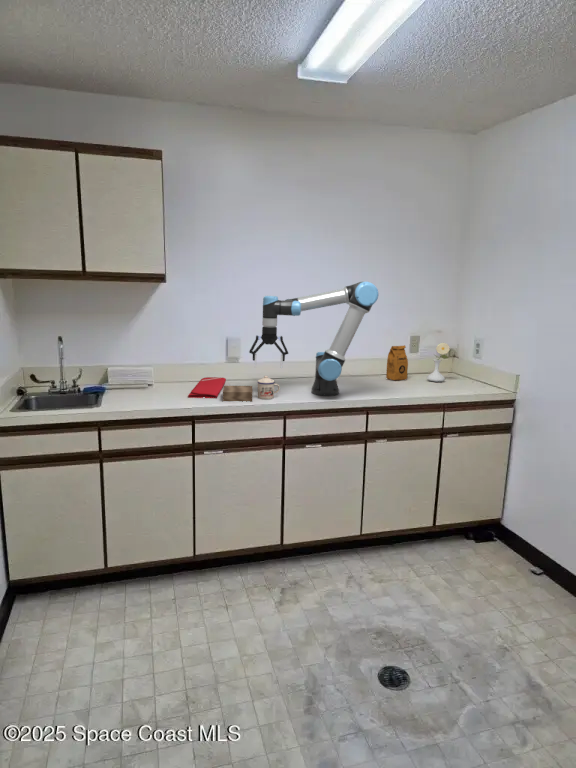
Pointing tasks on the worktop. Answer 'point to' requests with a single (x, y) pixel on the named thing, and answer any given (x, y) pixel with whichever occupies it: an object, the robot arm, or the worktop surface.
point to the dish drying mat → (208, 388)
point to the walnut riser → (237, 393)
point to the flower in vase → (436, 376)
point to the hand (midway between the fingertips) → (268, 367)
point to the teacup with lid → (266, 388)
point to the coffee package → (397, 363)
